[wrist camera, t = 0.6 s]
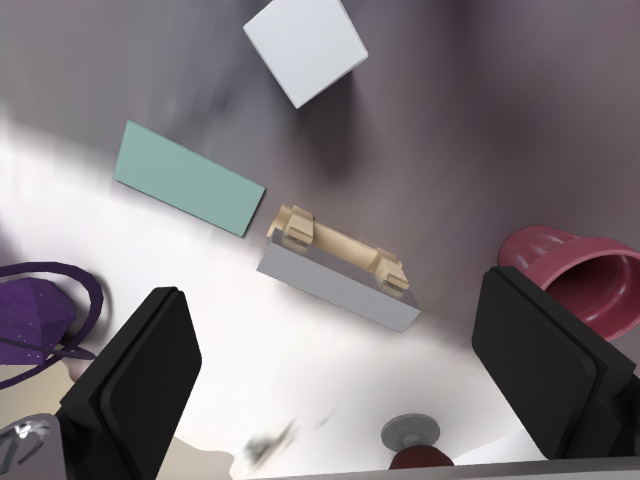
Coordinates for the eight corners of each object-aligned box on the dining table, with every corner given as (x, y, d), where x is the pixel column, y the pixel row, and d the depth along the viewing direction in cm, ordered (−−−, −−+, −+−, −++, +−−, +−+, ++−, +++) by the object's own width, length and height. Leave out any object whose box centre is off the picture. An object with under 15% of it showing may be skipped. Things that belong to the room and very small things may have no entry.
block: (261, 253, 38) (256, 270, 35) (275, 227, 37) (271, 242, 33) (394, 313, 43) (402, 333, 39) (411, 291, 41) (421, 311, 38)
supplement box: (262, 44, 35) (238, 24, 24) (317, -1, 33) (319, -47, 22) (301, 104, 38) (295, 111, 26) (353, 65, 36) (371, 55, 25)
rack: (284, 200, 43) (278, 222, 36) (403, 259, 47) (419, 290, 40) (265, 236, 45) (256, 264, 38) (380, 289, 50) (391, 323, 42)
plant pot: (460, 266, 48) (506, 322, 37) (528, 190, 43) (607, 228, 31) (525, 303, 51) (586, 365, 40) (596, 236, 46) (690, 286, 35)
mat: (130, 120, 38) (127, 120, 37) (265, 187, 42) (264, 189, 42) (115, 177, 41) (112, 178, 41) (242, 235, 45) (241, 236, 45)
